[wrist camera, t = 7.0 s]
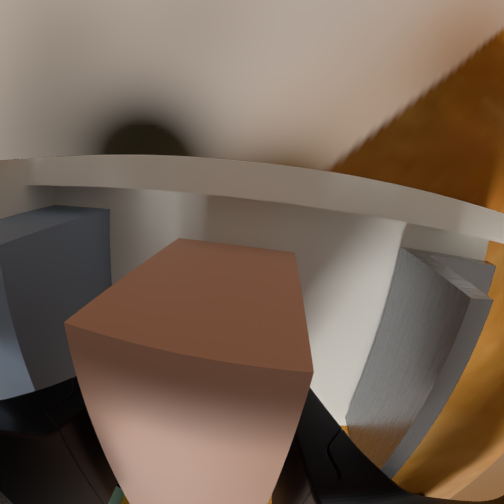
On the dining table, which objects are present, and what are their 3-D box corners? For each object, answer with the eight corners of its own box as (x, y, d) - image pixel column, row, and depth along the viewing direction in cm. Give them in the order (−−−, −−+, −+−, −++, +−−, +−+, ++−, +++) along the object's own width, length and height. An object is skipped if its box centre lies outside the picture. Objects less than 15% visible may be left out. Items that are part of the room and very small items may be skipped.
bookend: (424, 413, 11) (452, 477, 7) (345, 417, 11) (359, 495, 7) (487, 261, 9) (558, 304, 5) (400, 246, 9) (471, 297, 5)
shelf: (410, 409, 13) (446, 500, 6) (74, 361, 14) (10, 431, 7) (481, 208, 10) (593, 246, 3) (55, 158, 11) (-60, 168, 4)
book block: (264, 418, 11) (252, 538, 5) (179, 404, 11) (135, 512, 5) (294, 252, 9) (313, 372, 3) (178, 237, 9) (63, 322, 4)
